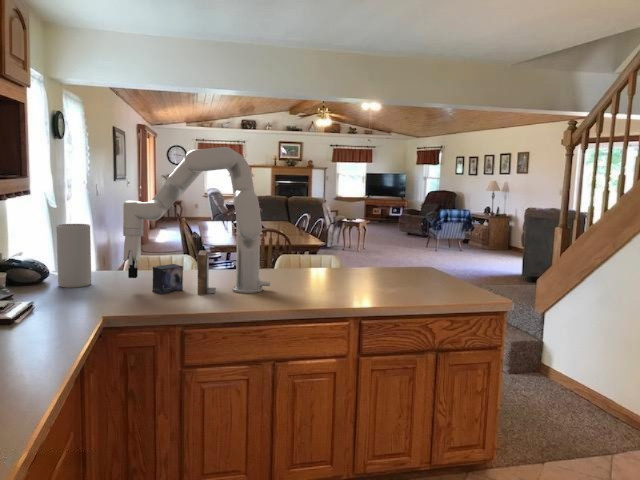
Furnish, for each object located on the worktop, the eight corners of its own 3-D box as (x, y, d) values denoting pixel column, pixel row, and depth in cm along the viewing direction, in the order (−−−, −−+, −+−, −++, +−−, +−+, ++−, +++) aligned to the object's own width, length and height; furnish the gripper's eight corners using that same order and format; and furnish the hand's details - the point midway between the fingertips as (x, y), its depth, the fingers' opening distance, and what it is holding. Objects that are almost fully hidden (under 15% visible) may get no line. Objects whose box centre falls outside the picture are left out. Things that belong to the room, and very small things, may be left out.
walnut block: (207, 288, 214) (207, 250, 212) (205, 294, 202) (205, 255, 200) (199, 288, 213) (200, 250, 211) (197, 294, 201) (197, 255, 199)
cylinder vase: (78, 289, 204) (76, 227, 201) (51, 286, 206) (49, 225, 203) (97, 283, 216) (96, 224, 213) (71, 280, 218) (70, 223, 215)
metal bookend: (215, 288, 214) (216, 255, 212) (214, 294, 203) (214, 259, 201) (207, 288, 213) (207, 255, 211) (205, 294, 202) (205, 259, 201)
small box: (161, 295, 199) (161, 268, 198) (151, 292, 203) (151, 266, 202) (183, 290, 208) (183, 265, 206) (173, 288, 212) (173, 263, 210)
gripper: (127, 229, 207) (127, 273, 209) (118, 233, 192) (118, 281, 195) (146, 230, 208) (146, 274, 210) (139, 234, 194) (139, 281, 196)
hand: (132, 277), depth 203 cm, fingers closed
